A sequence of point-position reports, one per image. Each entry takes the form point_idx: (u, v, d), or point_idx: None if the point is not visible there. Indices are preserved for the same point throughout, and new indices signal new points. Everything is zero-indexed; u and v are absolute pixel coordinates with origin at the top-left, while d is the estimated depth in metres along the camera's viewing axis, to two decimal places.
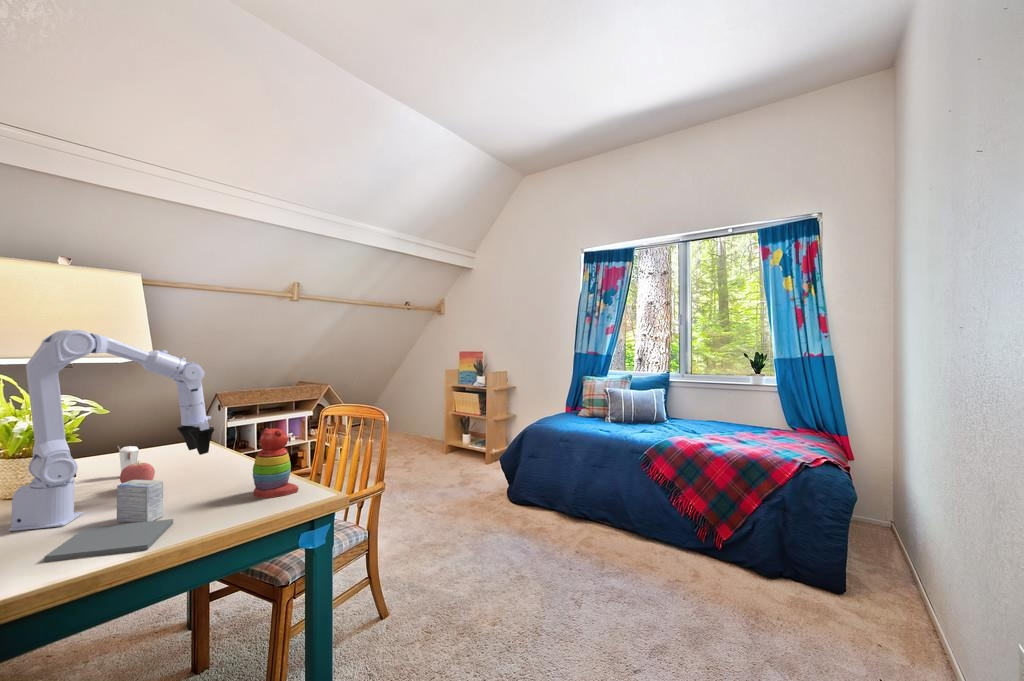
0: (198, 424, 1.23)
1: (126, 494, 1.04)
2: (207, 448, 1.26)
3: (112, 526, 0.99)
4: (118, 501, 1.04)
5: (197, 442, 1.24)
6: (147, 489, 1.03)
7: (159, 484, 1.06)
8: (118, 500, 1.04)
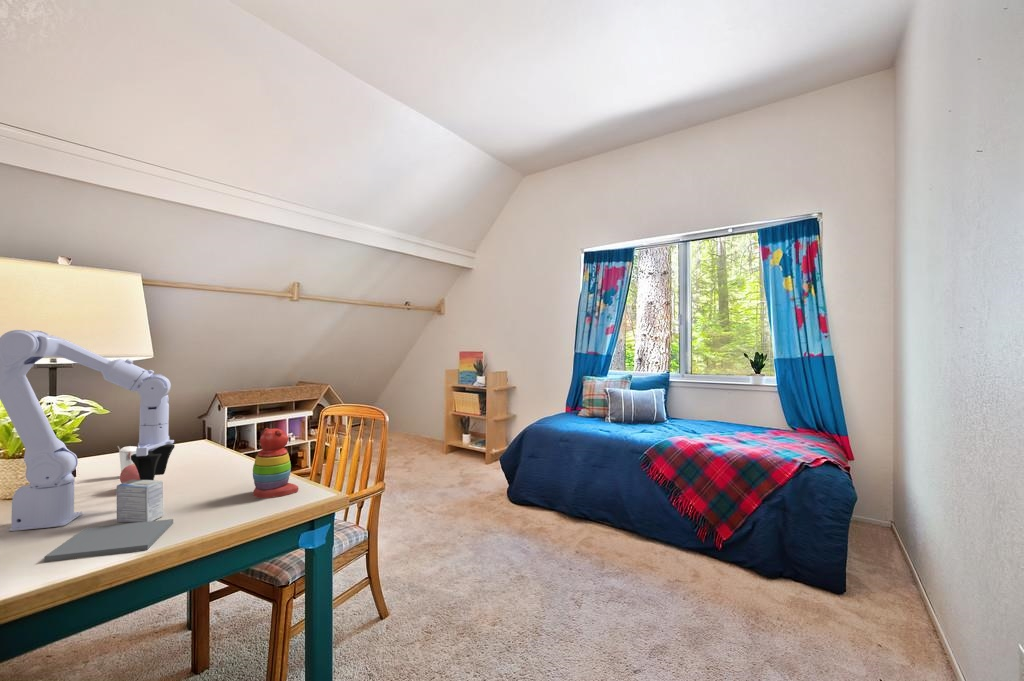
0: (137, 448, 1.06)
1: (125, 494, 1.03)
2: (150, 477, 1.09)
3: (112, 526, 0.99)
4: (118, 501, 1.04)
5: (138, 468, 1.07)
6: (147, 489, 1.03)
7: (159, 484, 1.06)
8: (118, 500, 1.04)
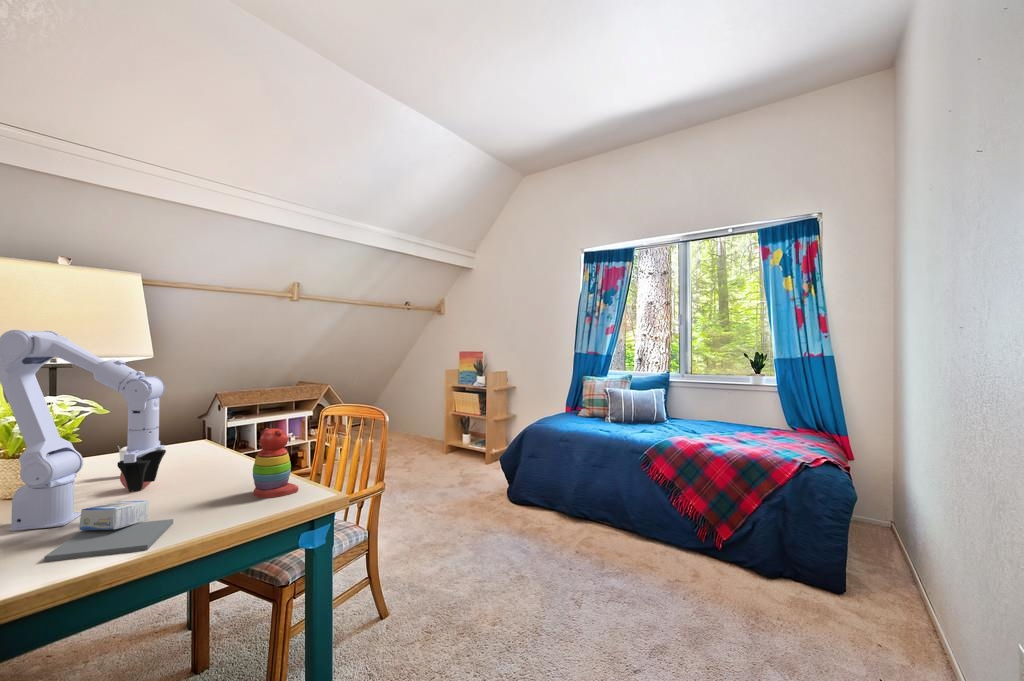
0: None
1: None
2: (139, 485, 1.03)
3: None
4: None
5: (125, 476, 1.01)
6: (116, 528, 0.96)
7: (117, 513, 0.96)
8: None
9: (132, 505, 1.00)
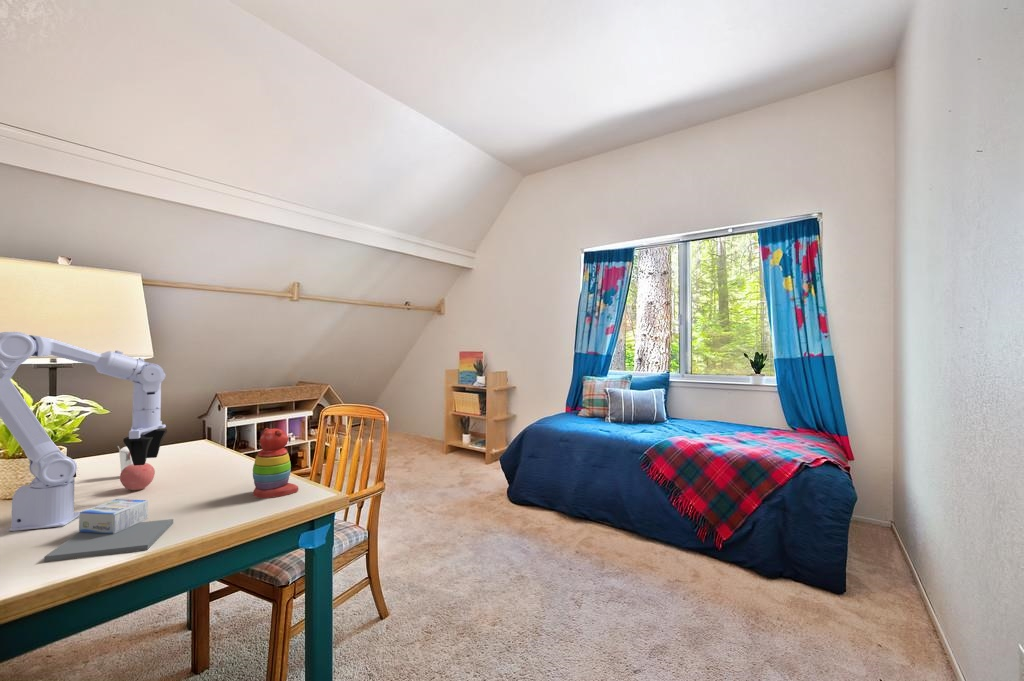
0: None
1: None
2: (142, 460, 1.14)
3: None
4: None
5: (130, 451, 1.12)
6: (116, 532, 0.96)
7: (115, 518, 0.95)
8: None
9: (131, 507, 0.99)
